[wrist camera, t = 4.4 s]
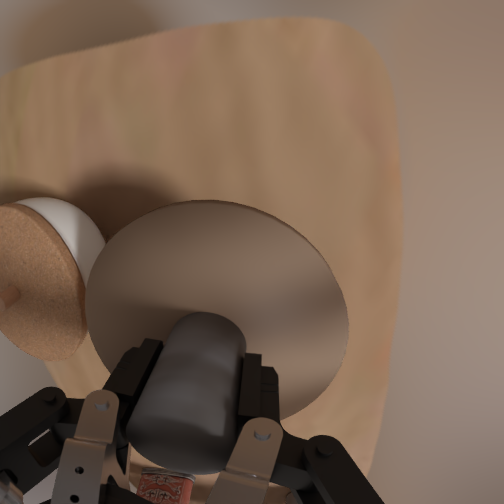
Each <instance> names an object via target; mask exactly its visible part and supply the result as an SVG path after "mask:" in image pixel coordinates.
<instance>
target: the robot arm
mask: <svg viewBox="0 0 504 504" xmlns="http://www.w3.org/2000/svg"><path fill="white" fill-rule="evenodd" d="M163 347H164V345H163V341H161V340H156V339H150V338H145V339H144V341H143V342H142V344H141V346H140V347H139V348H137V347H132V348H131V349H129V350H128V351H126V352H125V353H124V354H123V356H122V358H121V359H120V362H118V364H117V366H116V368H115V369H114V370H113V372H112V374H111V375H110V377H109V378H108V380H107V382H106V383H105V385H104V387H103V388H102V390H96V391H93V392H91V393H90V394H88V395H87V397H86V398H85V399H75V398H66V395H65V393H64V392H63V391H62V390H61V389H59V388H57V387H46V388H43V389H42V390H40V391H38V392H37V393H35V394H34V395H33V396H31V397H29V398H28V399H26V400H25V401H23V402H21V403H20V404H18V405H17V406H15V407H14V408H12V409H11V410H9V411H8V412H6V413H5V414H3V415H2V416H0V504H23V495H24V494H25V493H27V492H28V491H29V490H30V489H32V488H33V487H34V486H35V485H37V484H38V483H39V482H40V481H42V480H43V479H44V478H45V477H47V476H48V475H49V474H51V473H52V472H53V471H54V470H55V469H57V468H58V470H57V475H56V479H55V484H54V488H53V493H52V498H51V499H49V500H47V501H45V502H42V503H40V504H155V503H152V502H150V501H148V500H146V499H144V498H142V497H140V496H138V495H136V494H135V493H133V492H131V491H130V486H129V468H130V456H131V446H132V445H131V444H130V442H129V441H128V438H127V436H126V426H127V424H128V422H129V419H130V417H131V415H132V413H133V411H134V408H135V406H136V404H137V402H138V400H139V398H140V395H141V393H142V391H143V389H144V387H145V385H146V383H147V380H148V378H149V376H150V374H151V372H152V370H153V368H154V366H155V364H156V362H157V360H158V357H159V355H160V353H161V351H162V349H163ZM47 429H49V430H50V431H49V432H47V433H46V434H45V435H43V436H42V437H41V438H39V439H38V440H36V441H35V442H34V443H32V444H31V445H30V446H28V445H29V443H30V442H31V441H32V440H34V439H35V438H36V437H38V436H39V435H41V434H42V433H43V432H45V431H46V430H47ZM237 429H238V437H237V443H236V445H235V447H234V450H233V452H232V454H231V457H230V459H229V461H228V463H227V466H226V467H225V469H222V471H221V472H220V474H219V476H218V478H217V480H216V482H215V484H214V487H213V489H212V491H211V493H210V495H209V497H208V499H207V501H206V503H205V504H262V503H263V500H264V497H265V494H266V491H267V488H268V485H269V482H272V483H275V484H278V485H281V486H285V487H288V488H290V490H291V493H289V494H288V495H287V497H286V504H384V502H383V501H382V499H381V498H380V497H379V495H378V494H377V493H376V491H375V490H374V489H373V487H372V486H371V485H370V483H369V482H368V480H367V479H366V478H365V476H364V475H363V473H362V472H361V471H360V469H359V468H358V467H357V465H356V464H355V462H354V461H353V460H352V458H351V457H350V455H349V454H348V452H347V451H346V450H345V448H344V447H343V445H342V444H341V443H340V442H339V441H338V440H337V439H335V438H333V437H331V436H327V435H318V436H314V437H312V438H310V439H309V440H305V439H301V438H298V437H295V436H293V435H291V434H289V433H287V432H286V431H285V430H284V429H283V427H282V426H281V423H280V408H279V378H278V374H277V372H276V371H275V369H274V367H270V366H262V354H256V353H246V352H245V355H244V365H243V374H242V383H241V392H240V401H239V410H238V419H237Z"/></svg>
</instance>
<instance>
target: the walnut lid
mask: <svg viewBox="0 0 504 504" xmlns="http://www.w3.org/2000/svg"><path fill="white" fill-rule="evenodd" d="M85 314H86V321H87V326H88V330H89V333H90V337H91V340H92V342H93V344H94V347H95V349H96V351H97V353H98V355H99V357H100V359H101V360H102V362H103V364H104V365H105V367H106V368H107V369H108V371H109V372H110V373H111V374H112V372H113V370H114V369H115V368H116V366H117V364H118V362H120V359H121V358H122V356H123V354H124V353H125V352H126V351H128V350H129V349H131V348H132V347H137V348H139V347H140V346H141V344H142V342H143V341H144V339H145V338H150V339H156V340H161V341H163V345H164V347H163V349H162V351H161V353H160V355H159V357H158V360H157V362H156V364H155V366H154V368H153V370H152V372H151V374H150V376H149V378H148V380H147V383H146V385H145V387H144V389H143V391H142V393H141V395H140V398H139V400H138V402H137V404H136V406H135V408H134V411H133V413H132V415H131V417H130V419H129V422H128V424H127V426H126V436H127V438H128V441H129V442H130V444H131V445H132V446H133V448H134V449H135V450H136V451H137V452H138V453H140V454H141V455H142V456H143V457H145V458H146V459H148V460H150V461H151V462H153V463H155V464H157V465H159V466H161V467H164V468H166V469H169V470H173V471H176V472H180V473H186V474H195V475H205V474H214V473H218V472H221V471H222V469H225V467H226V466H227V463H228V461H229V459H230V457H231V454H232V452H233V450H234V447H235V445H236V443H237V437H238V429H237V419H238V410H239V401H240V392H241V383H242V374H243V365H244V355H245V352H246V353H256V354H262V366H270V367H274V369H275V371H276V372H277V374H278V378H279V408H280V420H283V419H285V418H287V417H289V416H291V415H293V414H295V413H297V412H299V411H300V410H302V409H304V408H305V407H306V406H308V405H309V404H310V403H312V402H313V401H314V400H315V399H317V398H318V397H319V396H320V395H321V394H322V393H323V392H324V391H325V389H326V388H327V387H328V386H329V384H330V383H331V382H332V380H333V379H334V377H335V375H336V374H337V372H338V370H339V368H340V366H341V364H342V361H343V358H344V356H345V353H346V348H347V343H348V333H349V321H348V314H347V307H346V304H345V300H344V297H343V294H342V291H341V289H340V287H339V285H338V283H337V281H336V279H335V277H334V275H333V273H332V271H331V269H330V267H329V265H328V264H327V262H326V261H325V260H324V258H323V257H322V255H321V254H320V253H319V251H318V250H317V249H316V248H315V247H314V246H313V245H312V244H311V243H310V242H309V241H308V240H307V239H306V238H305V237H304V236H303V235H301V234H300V233H299V232H298V231H296V230H295V229H294V228H293V227H291V226H290V225H288V224H287V223H285V222H283V221H281V220H280V219H278V218H276V217H275V216H273V215H270V214H268V213H266V212H263V211H261V210H258V209H256V208H253V207H250V206H246V205H242V204H238V203H234V202H227V201H219V200H191V201H185V202H179V203H173V204H170V205H167V206H164V207H161V208H158V209H155V210H153V211H151V212H149V213H147V214H145V215H143V216H141V217H139V218H138V219H136V220H134V221H133V222H131V223H130V224H128V225H127V226H125V227H124V228H123V229H121V230H120V231H119V232H117V233H116V234H115V235H114V236H113V237H112V238H111V240H110V241H109V242H108V243H107V244H106V245H105V246H104V248H103V249H102V251H101V252H100V254H99V255H98V256H97V258H96V261H95V263H94V265H93V267H92V269H91V272H90V275H89V278H88V282H87V287H86V294H85Z"/></svg>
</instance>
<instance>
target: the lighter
mask: <svg viewBox="0 0 504 504" xmlns="http://www.w3.org/2000/svg"><path fill="white" fill-rule="evenodd" d="M141 475H142V477H141V480H140V484H139V487H138V490H137V493H136V495H138V496H140V497H142V498H144V499H146V500H148V501H150V502H152V503H155V504H189V501H190V496H191V491H192V486H193V484H194V482H195V476H194V475H193V474H186V473H180V472H176V471H173V470H169V469H158V468H144V469H143V470H142V473H141Z"/></svg>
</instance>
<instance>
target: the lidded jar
mask: <svg viewBox="0 0 504 504" xmlns="http://www.w3.org/2000/svg"><path fill="white" fill-rule="evenodd" d="M105 245H106V243H105V240H104V238H103V236H102V234H101V232H100V230H99V229H98V227H97V226H96V225H95V223H94V222H93V221H92V220H91V219H90V217H89V216H88V215H86V214H85V213H84V212H83V211H82V210H80V209H79V208H78V207H76V206H74V205H73V204H71V203H68V202H66V201H63V200H60V199H55V198H47V197H39V198H29V199H24V200H20V201H17V202H14V203H5V204H2V205H0V330H1V331H2V333H3V334H4V335H5V336H6V337H7V338H8V339H9V340H10V341H11V342H12V343H13V344H15V345H16V346H17V347H18V348H20V349H21V350H23V351H24V352H26V353H27V354H29V355H31V356H34V357H36V358H39V359H42V360H47V361H60V360H63V359H66V358H68V357H69V356H71V355H72V354H73V353H74V352H75V351H76V350H77V349H78V347H79V346H80V345H81V344H82V342H83V340H84V338H85V336H86V335H87V333H88V332H89V330H88V326H87V321H86V314H85V294H86V287H87V282H88V278H89V275H90V272H91V269H92V267H93V265H94V263H95V261H96V258H97V256H98V255H99V254H100V252H101V251H102V249H103V248H104V246H105Z"/></svg>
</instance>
